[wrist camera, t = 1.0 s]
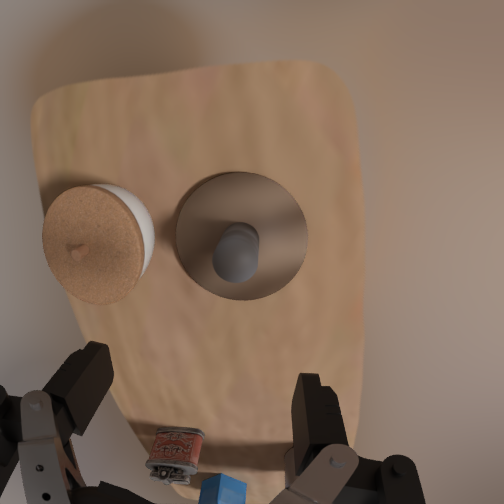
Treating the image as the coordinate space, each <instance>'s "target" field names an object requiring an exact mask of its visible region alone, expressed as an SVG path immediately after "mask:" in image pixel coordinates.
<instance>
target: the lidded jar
mask: <svg viewBox="0 0 504 504" xmlns="http://www.w3.org/2000/svg"><path fill="white" fill-rule="evenodd" d="M42 239H43V248H44V253H45V256H46V259H47V262H48V265H49V267H50V269H51V271H52V273H53V274H54V276H55V277H56V279H57V280H58V281H59V283H60V284H61V285H62V286H63V287H64V288H65V289H66V290H67V291H68V292H69V293H71V294H72V295H74V296H75V297H77V298H79V299H80V300H82V301H85V302H88V303H92V304H98V305H104V304H111V303H114V302H117V301H119V300H121V299H122V298H124V297H125V296H126V295H127V294H128V293H129V292H130V291H131V290H132V289H133V288H134V286H135V285H136V283H137V282H138V280H139V279H140V278H141V276H142V275H143V273H144V272H145V270H146V268H147V267H148V264H149V262H150V260H151V257H152V254H153V250H154V243H155V233H154V226H153V222H152V219H151V216H150V214H149V212H148V210H147V208H146V207H145V205H144V204H143V203H142V201H141V200H140V199H139V198H138V197H136V196H135V195H134V194H133V193H131V192H130V191H128V190H126V189H125V188H122V187H119V186H116V185H110V184H92V185H82V186H77V187H73V188H70V189H68V190H66V191H64V192H63V193H61V194H60V195H59V196H57V198H56V199H55V200H54V201H53V202H52V204H51V205H50V207H49V209H48V211H47V214H46V216H45V220H44V224H43V233H42Z"/></svg>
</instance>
